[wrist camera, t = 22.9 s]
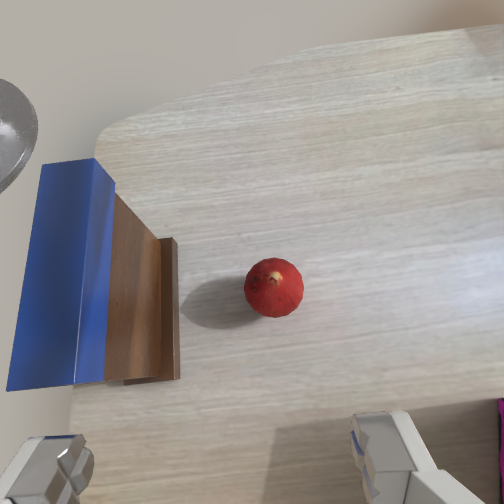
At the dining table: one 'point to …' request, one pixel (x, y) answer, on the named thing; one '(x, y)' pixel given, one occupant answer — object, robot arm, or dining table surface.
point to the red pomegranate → (274, 287)
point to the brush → (93, 288)
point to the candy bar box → (501, 444)
